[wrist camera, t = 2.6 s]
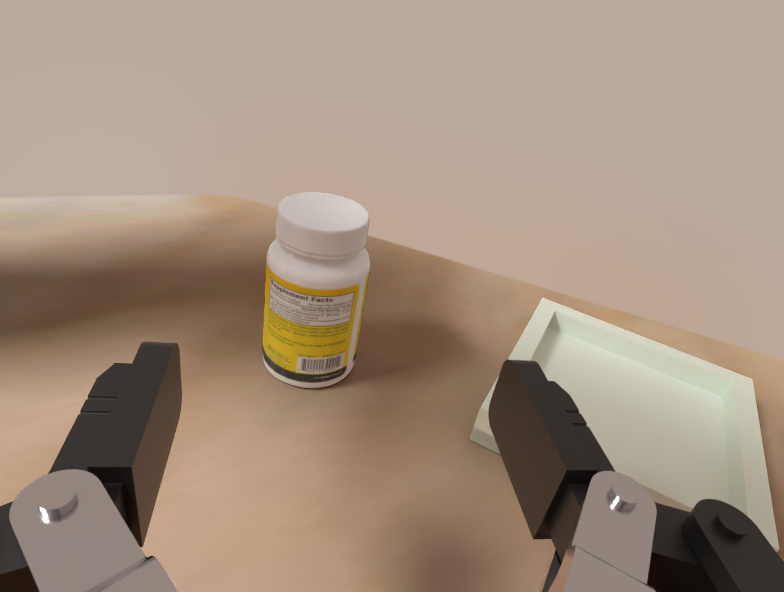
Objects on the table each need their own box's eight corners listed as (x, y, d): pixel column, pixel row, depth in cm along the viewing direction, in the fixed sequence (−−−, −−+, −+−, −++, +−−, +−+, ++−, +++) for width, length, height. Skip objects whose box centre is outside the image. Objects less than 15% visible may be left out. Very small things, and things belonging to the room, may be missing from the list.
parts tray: (469, 439, 24) (480, 407, 23) (532, 323, 34) (542, 297, 33) (751, 579, 21) (779, 549, 20) (733, 405, 30) (752, 379, 29)
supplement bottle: (299, 321, 30) (313, 179, 26) (370, 356, 28) (398, 212, 24) (240, 363, 26) (245, 206, 22) (319, 406, 25) (340, 246, 20)
